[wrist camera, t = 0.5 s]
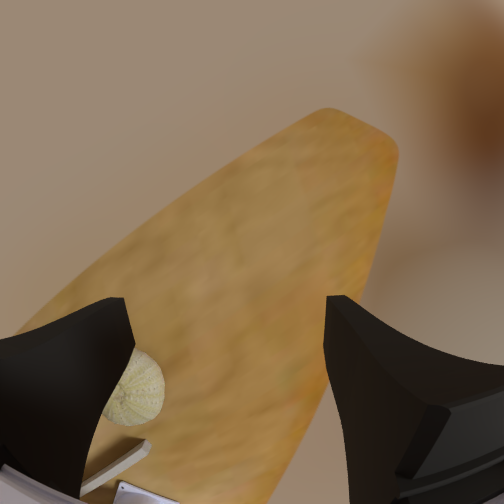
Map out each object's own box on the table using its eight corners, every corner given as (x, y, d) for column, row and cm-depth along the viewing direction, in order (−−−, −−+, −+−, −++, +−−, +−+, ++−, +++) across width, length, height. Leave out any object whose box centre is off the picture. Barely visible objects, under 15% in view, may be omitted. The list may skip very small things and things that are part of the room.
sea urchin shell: (105, 435, 27) (66, 405, 22) (103, 380, 33) (72, 342, 28) (179, 423, 28) (152, 391, 23) (169, 366, 34) (146, 325, 30)
